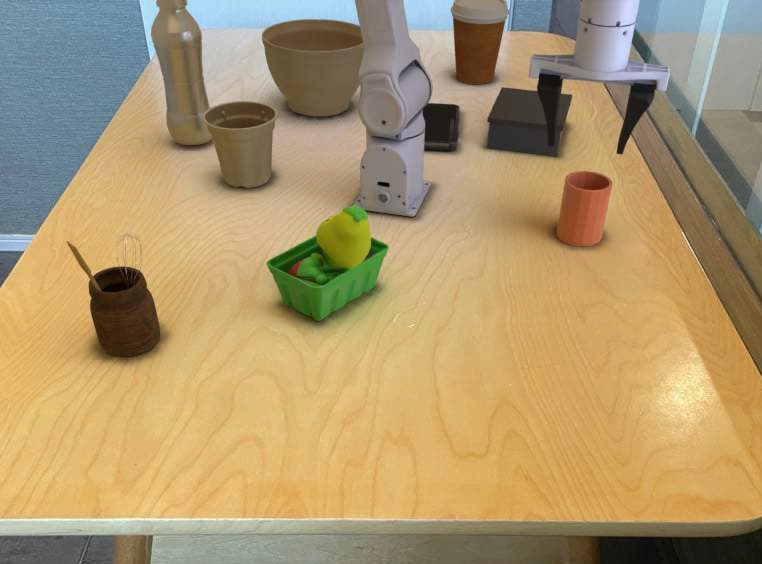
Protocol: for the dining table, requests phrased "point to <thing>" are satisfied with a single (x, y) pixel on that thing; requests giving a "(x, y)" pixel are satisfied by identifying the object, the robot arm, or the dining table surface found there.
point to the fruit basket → (330, 265)
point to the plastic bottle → (181, 71)
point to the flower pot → (243, 140)
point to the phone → (441, 126)
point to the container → (524, 122)
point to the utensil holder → (121, 308)
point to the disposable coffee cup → (477, 38)
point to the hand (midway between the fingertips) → (585, 146)
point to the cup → (583, 208)
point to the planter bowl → (315, 63)
